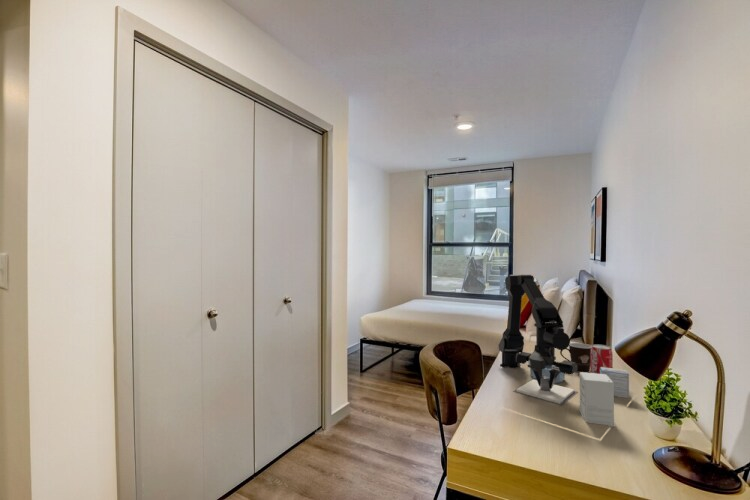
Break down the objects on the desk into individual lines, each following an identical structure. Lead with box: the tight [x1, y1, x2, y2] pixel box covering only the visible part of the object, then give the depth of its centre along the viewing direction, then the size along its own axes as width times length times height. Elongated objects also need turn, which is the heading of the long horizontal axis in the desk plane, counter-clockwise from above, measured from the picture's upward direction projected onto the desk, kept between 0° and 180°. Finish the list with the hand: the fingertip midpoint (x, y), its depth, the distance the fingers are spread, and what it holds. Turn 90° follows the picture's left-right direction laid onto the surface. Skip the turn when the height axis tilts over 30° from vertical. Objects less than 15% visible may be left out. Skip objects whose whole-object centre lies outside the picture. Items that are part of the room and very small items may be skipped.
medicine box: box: [600, 367, 630, 399], centre depth 124 cm, size 8×4×9 cm, turn 65°
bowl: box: [529, 366, 566, 384], centre depth 139 cm, size 11×11×6 cm
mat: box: [512, 383, 579, 407], centre depth 125 cm, size 16×16×1 cm
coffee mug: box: [559, 342, 592, 373], centre depth 151 cm, size 12×9×10 cm
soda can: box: [589, 343, 614, 374], centre depth 138 cm, size 7×7×13 cm
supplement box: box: [579, 372, 615, 428], centre depth 105 cm, size 7×7×13 cm
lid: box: [516, 376, 575, 404], centre depth 125 cm, size 14×14×5 cm
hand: (545, 387), depth 125 cm, fingers closed on lid, 3 cm apart
